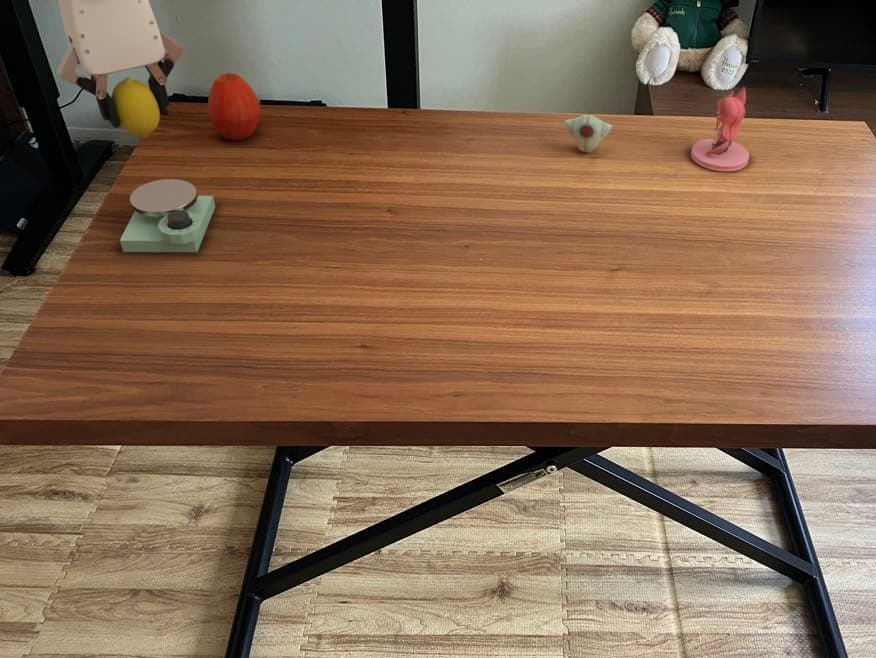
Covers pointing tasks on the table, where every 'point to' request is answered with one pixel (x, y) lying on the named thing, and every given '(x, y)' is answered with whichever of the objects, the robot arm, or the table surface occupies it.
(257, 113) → the apple
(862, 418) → the table surface
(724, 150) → the toy figure
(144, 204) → the scale weighing pan
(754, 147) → the table surface
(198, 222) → the scale
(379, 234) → the table surface
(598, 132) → the robot head
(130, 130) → the lemon
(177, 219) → the tare button
